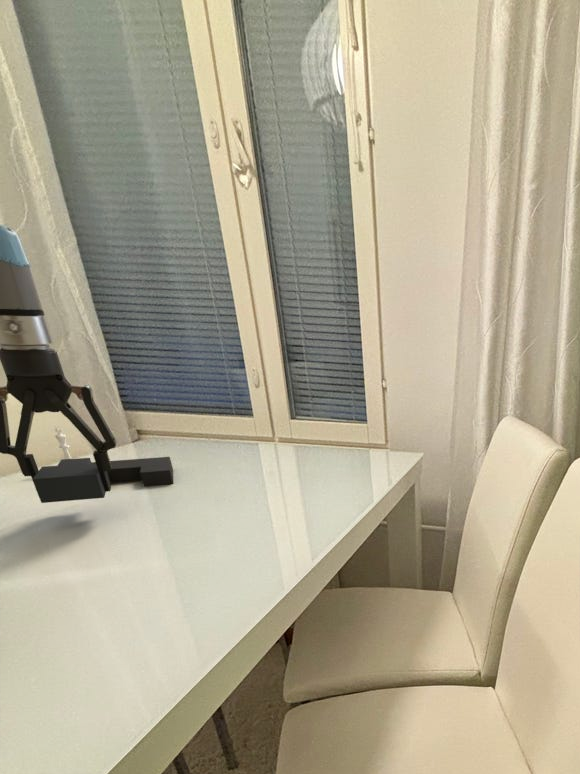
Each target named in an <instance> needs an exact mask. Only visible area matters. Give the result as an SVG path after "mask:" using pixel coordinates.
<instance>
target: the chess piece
mask: <svg viewBox="0 0 580 774" xmlns="http://www.w3.org/2000/svg"><path fill="white" fill-rule="evenodd" d="M54 427H55V432H57V434H55V435H54V438H55V439H56V440H57V442H58V443H59V444H60V445H58V449H61V450H62V453H63V459H73V458H72V456H71V454H70V451H69V450H68V448H70V447H71V446H70V445H69V444H67V443H66V442H67V440H66V437H67V436H66V434H63V433H62V429H60V427H59V426H58V425H57V426H54Z"/></svg>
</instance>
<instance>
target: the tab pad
mask: <svg viewBox="0 0 580 774" xmlns="http://www.w3.org/2000/svg"><path fill="white" fill-rule="evenodd" d="M91 462H92V460H91V458H90V457H81V458H72V459H65V458H63V459H60V461H59V462H58V464H57V465H46V466H45V465H44V466H41V467H40V468H39V469H38V470H39V471H38V473H37V474H36V475H35V476H34V478H33V479H32V478H31V480H32V482H34V483H33V485H34V488H35V487H36V488H35V490H37V491H36V493H37V496H38V495H39V496H38V497H39V501H40V503H41V504H45V503H46V504H47V503H59V502H70V501H81V500H82V501H83V500H84V501H85V500H94V499H104V498H105V497H106V493H107V492H105V489H104V486H103V483H102V480H101V477H100V474H99V471H98V468H97V465H96V463H91Z"/></svg>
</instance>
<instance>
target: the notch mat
mask: <svg viewBox="0 0 580 774" xmlns="http://www.w3.org/2000/svg"><path fill="white" fill-rule="evenodd" d="M91 463H96V462H95V461H93V462H92V461H91ZM110 463H111V466H112V467H111V471H106V473H107V476H108V479H109V482H110V485H111V486H112V484H118V483H119V484H120V483H130V482H141V481H142V484H143V487H152V486H153V487H155V486H166V485H173V484H174V467H173V464H172V460H171V457H170V456H159V457H147V458H131V459H120V460H119V459H118V460H110Z"/></svg>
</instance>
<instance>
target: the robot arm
mask: <svg viewBox="0 0 580 774" xmlns="http://www.w3.org/2000/svg"><path fill="white" fill-rule="evenodd" d="M32 273H33V272H32V270H31V263H30V262H29V261H28V259H27V256H26V254H25V250H24V248H23V246H22V243H21V240H20V238H19V235H18V233H16V231H15V230H13V228H11V227H9V226H6V225H2V224H0V363H1V366H2V369H3V371H4V374H5V377H6V385H5V386H0V454H2V455H10V456H13V457H14V458H15V459H16V461H17V463H18V465H19V468H20V471H21V474H22V475H23V476H24V477H31V480H32V479H33V478H34V476H35V475H36V474H37V473H38V471H39V470H40V469H39V468H38V465H37V462H36V459H35V457H34V454H33V453H27V449H28V443H29V439H30V435H31V429H32V425H33V420H34V415H35V414H37V413H39V414H42V413H45V412H50V413H59V412H60V413H61V414H62V415H63V416H64V417H65V418H67V420H68V421H69V422H70V423H71V424H72V425H73V426H74V427H75V428H76V429H77V431H79V432H80V434H81V435H82V436H83V437H84V438H85V439H86V440H87V442H89V443H90V445H91V446H92V447H93V448H94V449H95V450H94V451H93V453H92V455H93V459H94V462H96V465H97V468H98V471H99V474H100V477H101V480H102V483H103V486H104V489H105V492H106V493H107V492H111V489H112V484H111V485H110V482H109V479H108V476H107V473H106V471H111V467H112V466H111V463H110V461H111V459H110V456H109V454H108V451H109V450H111V449H115V448H116V446H117V439H116V438H115V436H114V435H113V433H112V431H111V429H110V427H109V426H108V424H107V422H106V420H105V418H104V417H103V415H102V413H101V411H100V409H99V407H98V405H97V404H96V402H95V400H94V394H93V388H92V387H91V386H90V385H87V384H86V385H72V384H71V383H70V382H69V381H68V380H67V378H66V376H65V372H64V370H63V367H62V363H61V361H60V357H59V355H58V351H56V349H54V348H52V347H51V346H53V345H54V344H55V341H54V338H53V336H52V332H51V330H50V326H49V323H48V320H47V317H46V315H45V312H44V309H43V307H42V303H41V300H40V297H39V293H38V290H37V287H36V284H35V280H34V277H33V274H32ZM72 393H73V394H75V395H76V397H77V398H78V400H80V401H83V404H84V406H85V408H86V410H87V412H88V414H89V415H90V417H91V419H92V420H93V422H94V424H95V426H96V428H97V429H98V431H99V433H100V434H101V436H102V438H103V440H104V441H103V440H102V439H101V438H100V437H99V436H98V435H97V434H96V433H95V432H94V431H93V430H92V428H91V427H90V426H89V425H88V424H87V423H86V422H85V421H84V419H82V417H81V416H80V415H79V414H78V413H77V411H76V410H75V409H74V407H73V406H72V405H71V404H70V402H69V399H70V398H71V395H72ZM9 394H10V396H12V397H13V398H15V399H16V400H17V401H18V402H19V403H21V404H22V406H21V410H20V419H19V423H18V424H19V425H18V430H17V434H16V437H15V438H16V439H15V444H14V445H12V444H11V434H10V425H9V417H8V408H7V403H6V402H8V400H9ZM32 482H33V481H32ZM33 484H34V482H33ZM34 488H35V490H36V487H35V486H34ZM36 492H37V490H36ZM37 496H38V497H39V495H38V494H37Z"/></svg>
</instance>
